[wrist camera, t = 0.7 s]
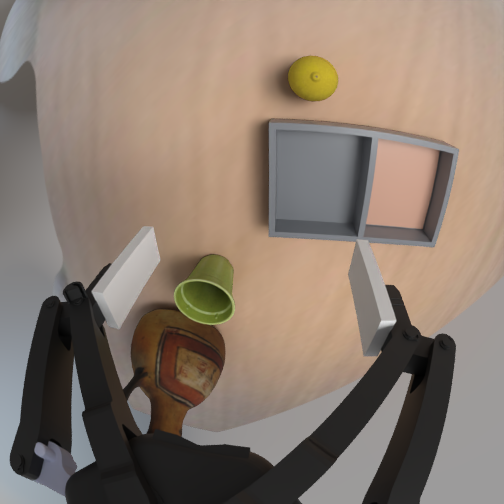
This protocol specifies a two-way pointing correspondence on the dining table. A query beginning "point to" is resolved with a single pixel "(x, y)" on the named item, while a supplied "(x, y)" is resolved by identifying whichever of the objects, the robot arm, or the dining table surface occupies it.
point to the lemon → (313, 78)
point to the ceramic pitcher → (174, 365)
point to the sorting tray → (357, 183)
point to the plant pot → (207, 292)
